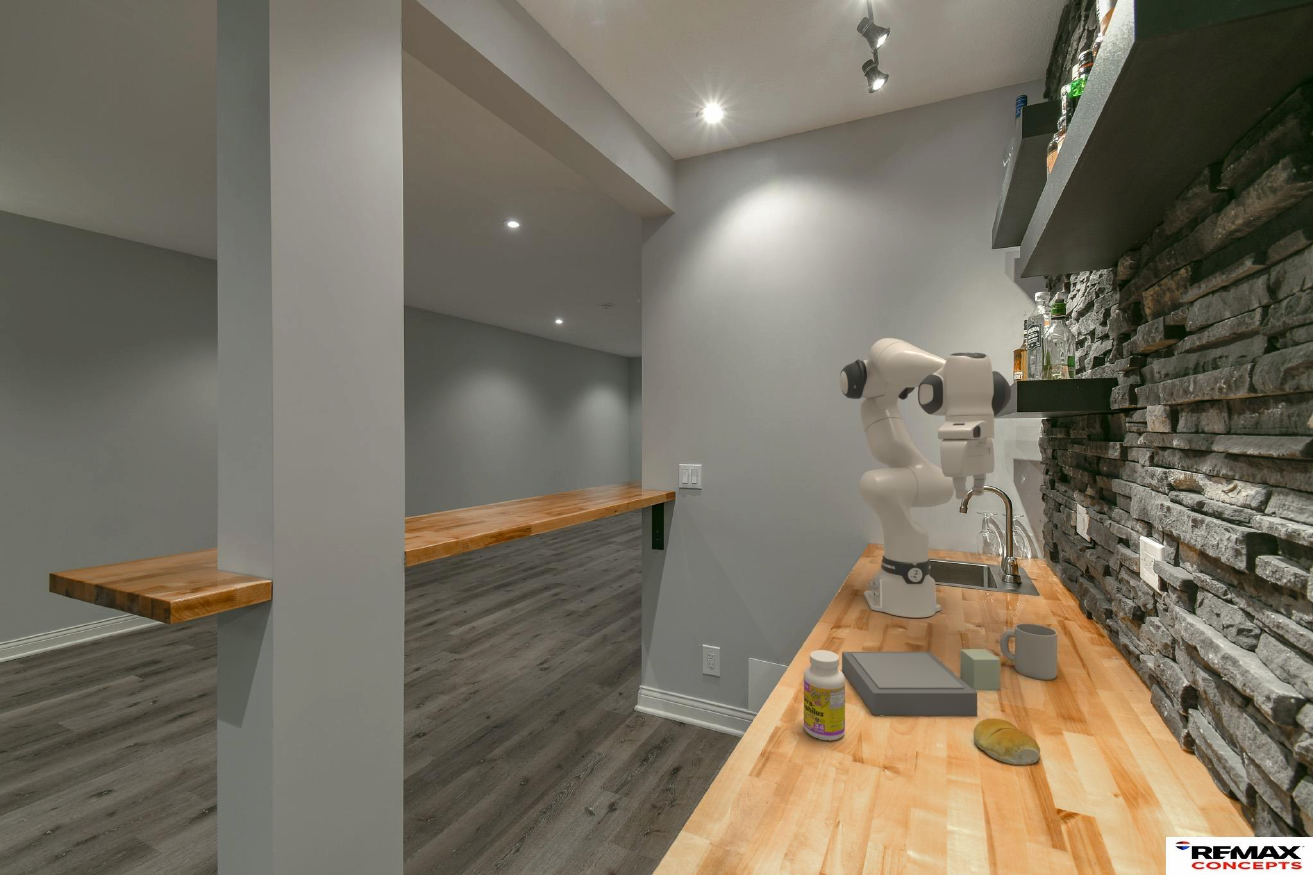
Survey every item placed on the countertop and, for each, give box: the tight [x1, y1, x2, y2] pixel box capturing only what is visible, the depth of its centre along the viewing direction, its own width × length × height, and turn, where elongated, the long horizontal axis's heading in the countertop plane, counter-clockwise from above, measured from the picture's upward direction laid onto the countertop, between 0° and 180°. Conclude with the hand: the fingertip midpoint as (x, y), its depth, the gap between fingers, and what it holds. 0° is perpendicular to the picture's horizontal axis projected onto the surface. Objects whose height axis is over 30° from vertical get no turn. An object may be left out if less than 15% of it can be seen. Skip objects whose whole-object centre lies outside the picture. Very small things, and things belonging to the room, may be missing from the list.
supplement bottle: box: [803, 649, 846, 742], centre depth 94 cm, size 7×7×13 cm
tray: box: [841, 651, 978, 717], centre depth 108 cm, size 18×18×4 cm
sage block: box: [959, 648, 1001, 691], centre depth 111 cm, size 5×5×6 cm
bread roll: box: [973, 718, 1041, 766], centre depth 89 cm, size 8×9×4 cm
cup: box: [999, 622, 1058, 681], centre depth 116 cm, size 7×10×9 cm
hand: (970, 497), depth 117 cm, fingers open, 8 cm apart
